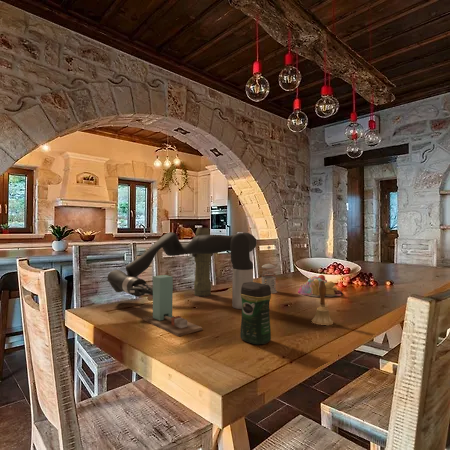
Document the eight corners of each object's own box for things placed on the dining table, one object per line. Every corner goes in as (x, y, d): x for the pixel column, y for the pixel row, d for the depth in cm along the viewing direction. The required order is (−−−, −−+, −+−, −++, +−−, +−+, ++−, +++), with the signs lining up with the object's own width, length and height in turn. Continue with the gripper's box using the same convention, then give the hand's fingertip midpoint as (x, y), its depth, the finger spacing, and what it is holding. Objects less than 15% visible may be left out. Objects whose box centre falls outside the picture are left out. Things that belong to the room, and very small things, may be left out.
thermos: (216, 294, 170) (217, 227, 170) (198, 297, 163) (198, 227, 162) (206, 291, 177) (207, 227, 177) (188, 294, 170) (189, 227, 169)
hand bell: (330, 327, 118) (331, 283, 117) (308, 323, 122) (308, 281, 122) (336, 321, 125) (336, 280, 125) (314, 318, 129) (315, 278, 129)
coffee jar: (275, 341, 103) (275, 283, 103) (258, 347, 98) (258, 286, 98) (252, 333, 111) (253, 279, 110) (236, 339, 105) (236, 281, 105)
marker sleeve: (152, 317, 124) (152, 276, 124) (165, 315, 128) (165, 274, 127) (159, 320, 120) (159, 278, 120) (172, 317, 124) (172, 276, 124)
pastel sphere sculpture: (351, 297, 169) (351, 279, 168) (311, 299, 162) (312, 281, 162) (323, 287, 192) (323, 272, 192) (288, 289, 186) (288, 273, 186)
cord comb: (142, 319, 125) (142, 310, 125) (165, 315, 132) (165, 306, 132) (178, 336, 107) (178, 325, 107) (202, 329, 114) (202, 319, 114)
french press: (280, 291, 180) (280, 246, 180) (271, 294, 170) (272, 247, 170) (264, 289, 186) (264, 245, 185) (255, 292, 176) (255, 246, 176)
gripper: (148, 292, 145) (169, 299, 132) (119, 297, 136) (139, 305, 123) (148, 275, 145) (169, 281, 132) (119, 279, 136) (139, 285, 123)
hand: (155, 292), depth 128 cm, fingers closed
